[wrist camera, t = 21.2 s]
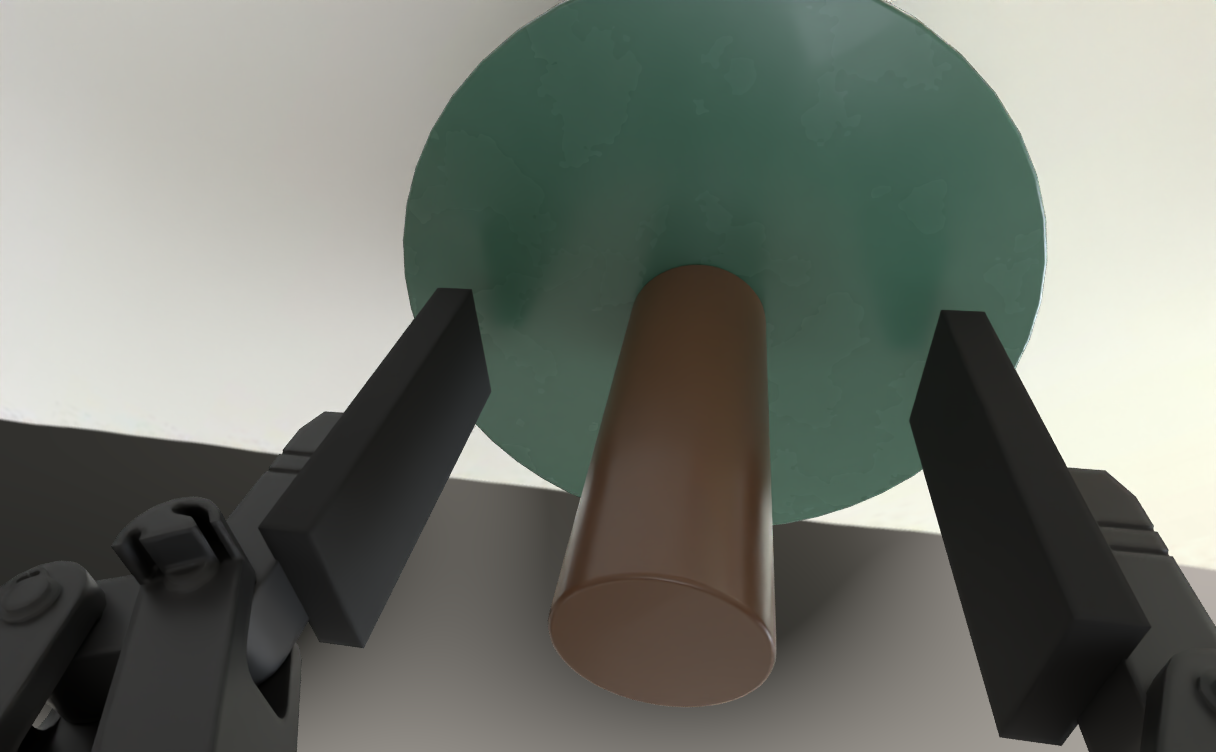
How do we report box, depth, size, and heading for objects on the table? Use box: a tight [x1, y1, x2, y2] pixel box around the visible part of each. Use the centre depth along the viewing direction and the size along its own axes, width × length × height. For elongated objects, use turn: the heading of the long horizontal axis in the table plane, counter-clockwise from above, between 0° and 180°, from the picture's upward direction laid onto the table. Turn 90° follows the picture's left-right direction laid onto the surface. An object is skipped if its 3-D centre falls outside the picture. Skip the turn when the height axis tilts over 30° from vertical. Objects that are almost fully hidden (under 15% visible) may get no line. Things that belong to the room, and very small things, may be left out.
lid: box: [403, 0, 1047, 707], centre depth 12 cm, size 14×14×9 cm
